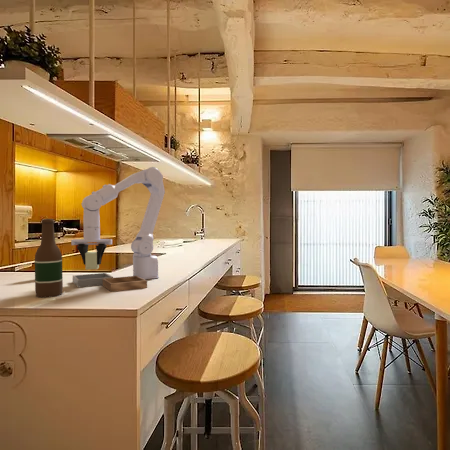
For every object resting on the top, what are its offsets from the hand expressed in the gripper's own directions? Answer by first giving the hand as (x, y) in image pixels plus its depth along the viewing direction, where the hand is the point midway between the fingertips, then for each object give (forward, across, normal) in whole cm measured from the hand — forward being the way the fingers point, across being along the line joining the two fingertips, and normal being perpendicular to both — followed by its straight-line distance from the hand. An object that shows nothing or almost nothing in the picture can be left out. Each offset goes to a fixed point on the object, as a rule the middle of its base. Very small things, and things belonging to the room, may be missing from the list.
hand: (92, 264), depth 137 cm
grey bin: (+7, 0, 0) cm, 7 cm away
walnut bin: (+7, -14, +8) cm, 18 cm away
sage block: (+2, 0, 0) cm, 2 cm away
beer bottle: (+7, +6, +21) cm, 23 cm away
